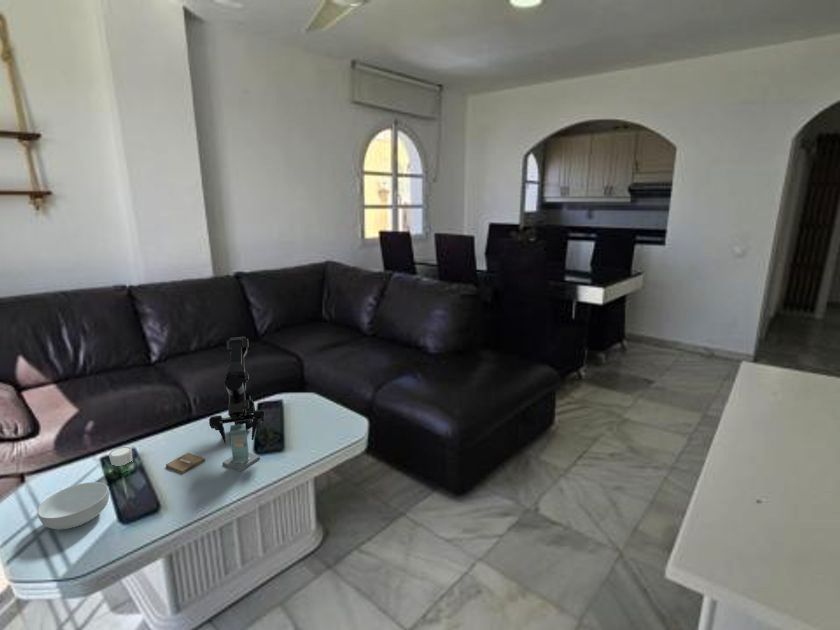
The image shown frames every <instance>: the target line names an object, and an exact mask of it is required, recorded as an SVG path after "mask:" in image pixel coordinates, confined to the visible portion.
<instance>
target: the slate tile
mask: <svg viewBox="0 0 840 630" xmlns="http://www.w3.org/2000/svg"><path fill="white" fill-rule="evenodd" d="M258 459H259V460H261V456H260V455H257V454H254V453H251V452H249V458H248V461H247V462H241V463H235V464H233V456H232V455H231V457H228V459H226V460H224V461H222V465H223V466H225V467H227V468H230V469H233V470H236V471H238V470H239V472H242V471H243V470H245V469H246V467H247V468H248V467H249V465H250V466H251V465H253V464H254V463H255V461H256V462H257V461H259V460H258ZM252 463H253V464H252Z"/></svg>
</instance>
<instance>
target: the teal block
mask: <svg viewBox="0 0 840 630" xmlns="http://www.w3.org/2000/svg"><path fill="white" fill-rule="evenodd" d="M247 433H248V432H247V429H246V424H238V425H235V424H233V425H230V429H229V436H230V445H231V446H230V447H231V454H232V455H231V457H232V456H233V464H235V463H241V462H247V461H248V458H249V453H250V452H249V444H248V434H247Z"/></svg>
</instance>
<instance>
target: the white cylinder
mask: <svg viewBox="0 0 840 630" xmlns="http://www.w3.org/2000/svg"><path fill="white" fill-rule="evenodd" d="M132 450H133V448H132V447H130V446H122V447H121V446H120V447H118V448H115V449H113V450H111V451H110V452H109V453H108V456H109V461H110V463H111V466H112V465H115V466H121V465H125V464H127V463H129V462H131V461H132V462H133V451H132Z"/></svg>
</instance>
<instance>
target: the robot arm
mask: <svg viewBox="0 0 840 630" xmlns="http://www.w3.org/2000/svg"><path fill="white" fill-rule="evenodd" d="M248 348H249V338H246V336H238V337H229V339H228V340H226V349H227V350H228V351H229V354H230V365H228V366H227V368H226V373H225V374H224V386H225V388H226V391H227V393H228V408H227V411H228V413H227V414H228V416H229V417H228V416H227V417H222V415H214V416H210V417H209V419H208V422H209V423H208V424H209V426H210V428H211V429H212V430H213V429H214V431H218V432H219V434H220V436H221V438H222V441H223V445H226V444H227V440H226V433H225V432H226V431H225V427H224V424H228V423H229V424H230V423H234V425H238V424H246V430H248V429H249V428H250V429H251V441H254V438H255V435H256V433H257V430H258V428H259V426H260V425H262V423H263V422H265V421H266V412H265V410H264V409H256V407H255V402H254V401H253V399H251V395H250V394H249V392H248V390H247V385H246V384H247V383H248V381H250V380H249V378H250V375H249V373H248V371H246V368H245V357H246V355H247V354H248Z"/></svg>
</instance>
